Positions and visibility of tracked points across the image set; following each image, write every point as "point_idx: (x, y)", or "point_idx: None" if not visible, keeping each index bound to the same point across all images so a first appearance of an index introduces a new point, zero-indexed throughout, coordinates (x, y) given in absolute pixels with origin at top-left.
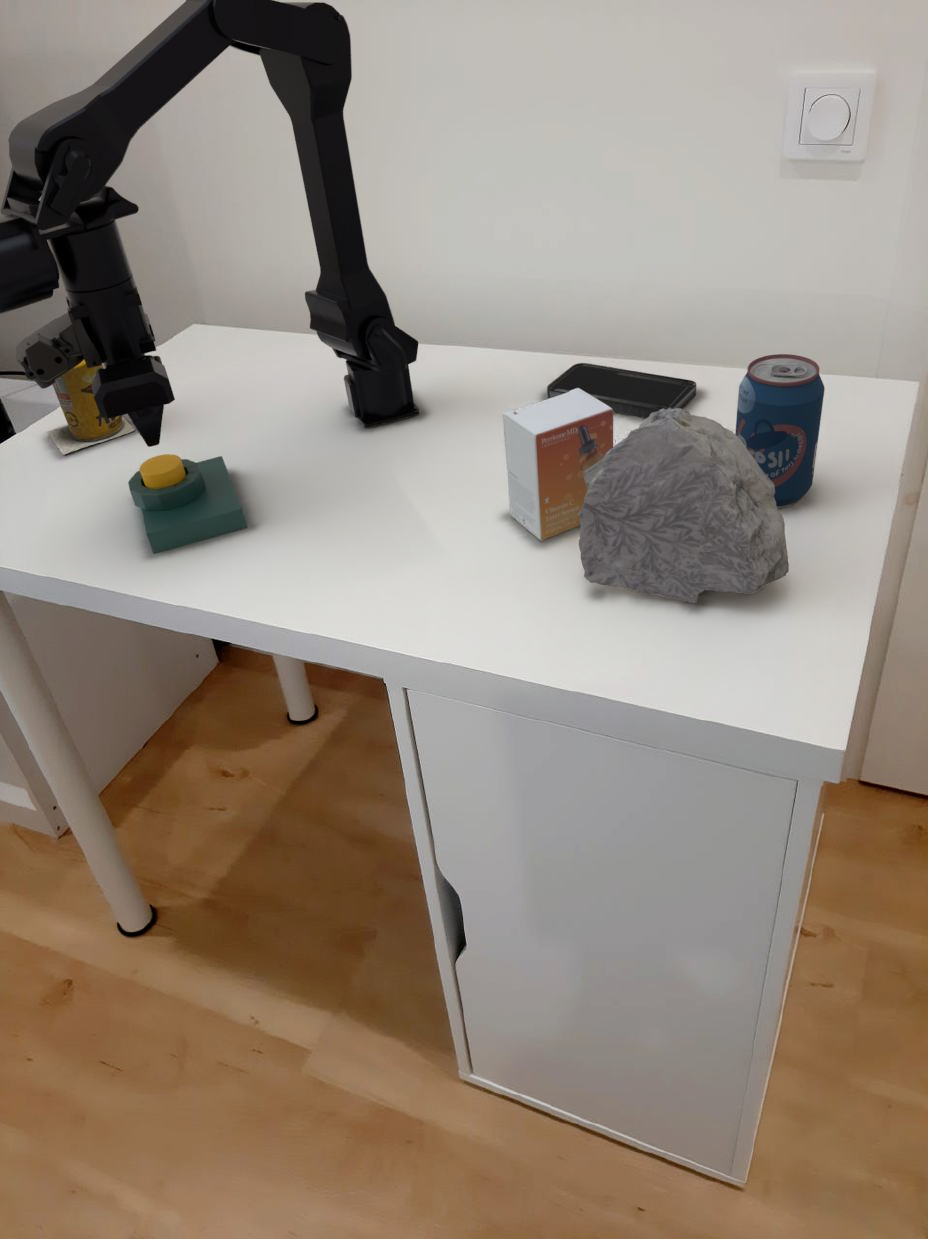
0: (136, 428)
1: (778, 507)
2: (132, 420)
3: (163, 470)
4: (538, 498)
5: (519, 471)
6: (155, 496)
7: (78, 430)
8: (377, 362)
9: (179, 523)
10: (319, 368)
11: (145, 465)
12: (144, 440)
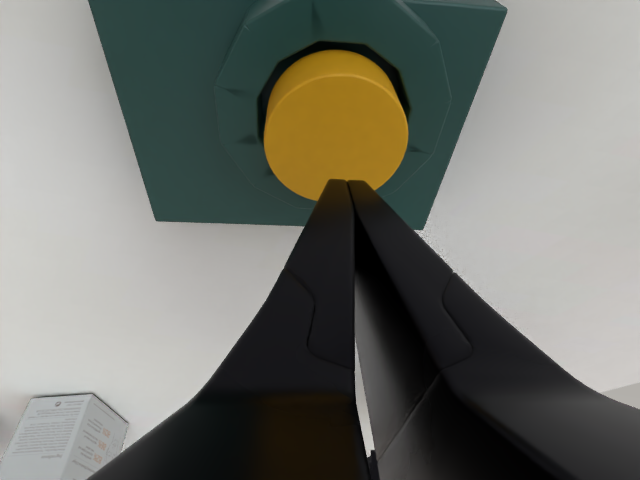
0: (304, 233)
1: None
2: (282, 275)
3: (281, 148)
4: (4, 453)
5: (31, 470)
6: (220, 70)
7: None
8: (372, 474)
9: (125, 88)
10: (613, 351)
11: (362, 100)
12: (322, 194)
